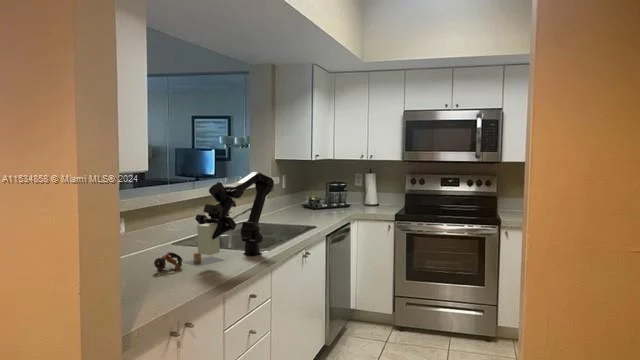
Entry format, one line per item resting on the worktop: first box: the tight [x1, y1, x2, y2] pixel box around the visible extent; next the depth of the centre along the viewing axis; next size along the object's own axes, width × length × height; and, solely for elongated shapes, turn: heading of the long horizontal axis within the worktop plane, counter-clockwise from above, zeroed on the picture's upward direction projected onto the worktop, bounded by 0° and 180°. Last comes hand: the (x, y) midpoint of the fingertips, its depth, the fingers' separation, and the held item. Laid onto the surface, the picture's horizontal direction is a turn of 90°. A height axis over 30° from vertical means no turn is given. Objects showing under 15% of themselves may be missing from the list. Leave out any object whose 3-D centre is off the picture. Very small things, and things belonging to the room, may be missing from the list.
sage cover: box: [196, 223, 221, 256], centre depth 200 cm, size 6×7×12 cm
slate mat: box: [182, 255, 225, 267], centre depth 213 cm, size 15×11×1 cm
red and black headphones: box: [153, 252, 184, 272], centre depth 198 cm, size 12×10×8 cm
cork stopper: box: [193, 251, 202, 263], centre depth 211 cm, size 3×3×4 cm
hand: (206, 238), depth 199 cm, fingers closed on sage cover, 7 cm apart
